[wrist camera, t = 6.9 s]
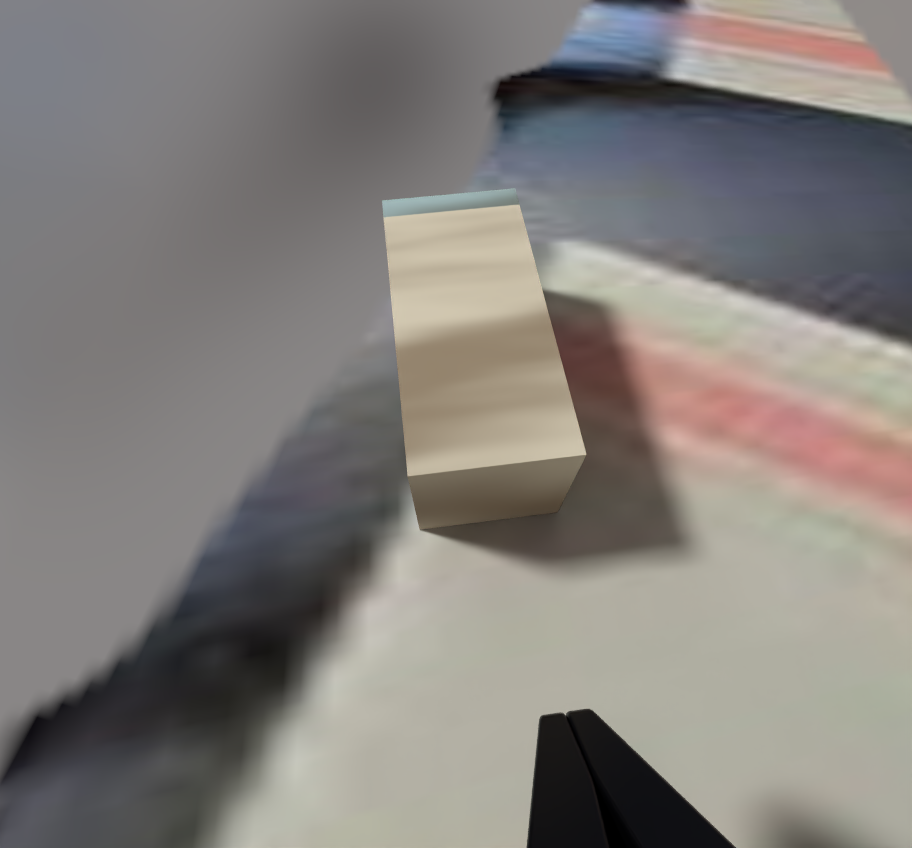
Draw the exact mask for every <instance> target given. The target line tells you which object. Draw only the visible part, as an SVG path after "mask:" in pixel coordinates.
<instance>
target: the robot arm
mask: <svg viewBox="0 0 912 848" xmlns="http://www.w3.org/2000/svg"><path fill="white" fill-rule="evenodd" d="M527 848H736V847H735V846H734V845H733V844H732V843H731V842H730V841H728V840H727V839H726V838H725V837H724V836H723V835H722V834H721V833H720V832H719V831H718V830H717V829H716V828H715V827H714V826H713V825H712V824H711V823H710V822H709V821H708V820H707V819H706V818H704V817H703V816H702V815H701V814H700V813H699V812H698V811H697V810H696V809H695V808H694V807H693V806H692V805H691V804H690V803H689V802H688V801H687V800H686V799H685V798H684V797H683V796H681V795H680V794H679V793H678V792H677V791H676V790H675V789H674V788H673V787H672V786H671V785H670V784H669V783H668V782H667V781H666V780H665V779H664V778H663V777H662V776H661V775H660V774H659V773H657V772H656V771H655V770H654V769H653V768H652V767H651V766H650V765H649V764H648V763H647V762H646V761H645V760H644V759H643V758H642V757H641V756H640V755H639V754H638V753H637V752H636V751H634V750H633V749H632V748H631V747H630V746H629V745H628V744H627V743H626V742H625V741H624V740H623V739H622V738H621V737H620V736H619V735H618V734H617V733H616V732H615V731H614V730H613V729H612V728H610V727H609V726H608V725H607V724H606V723H605V722H604V721H603V720H602V719H601V718H600V717H599V716H598V715H597V714H596V713H595V712H594V711H592V710H590V709H582V710H575V711H569V712H567V713H566V716H565V714H563V713H554V714H547V715H542V716H541V717H540V719H539V727H538V737H537V747H536V758H535V768H534V778H533V788H532V798H531V808H530V818H529V828H528V839H527Z"/></svg>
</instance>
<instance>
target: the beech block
mask: <svg viewBox="0 0 912 848" xmlns="http://www.w3.org/2000/svg"><path fill="white" fill-rule="evenodd" d="M382 204H383V215H384V224H385V236H386V246H387V258H388V269H389V279H390V290H391V301H392V312H393V322H394V333H395V344H396V355H397V365H398V376H399V387H400V398H401V408H402V419H403V430H404V441H405V451H406V462H407V473H408V479H409V484H410V488H411V493H412V497H413V502H414V506H415V511H416V515H417V520H418V524H419V529H420V530H423V529H431V528H438V527H446V526H454V525H462V524H470V523H478V522H486V521H493V520H501V519H509V518H517V517H525V516H533V515H541V514H548V513H556V512H558V511H559V509H560V507H561V505H562V503H563V501H564V499H565V497H566V495H567V493H568V491H569V489H570V487H571V485H572V483H573V481H574V479H575V477H576V475H577V473H578V471H579V469H580V467H581V465H582V463H583V461H584V459H585V457H586V455H587V454H586V451H585V447H584V443H583V439H582V436H581V432H580V428H579V425H578V421H577V417H576V413H575V410H574V406H573V402H572V398H571V395H570V391H569V387H568V384H567V380H566V376H565V372H564V369H563V365H562V361H561V358H560V354H559V350H558V346H557V343H556V339H555V335H554V332H553V328H552V324H551V320H550V317H549V313H548V309H547V306H546V302H545V298H544V294H543V291H542V287H541V283H540V280H539V276H538V272H537V268H536V265H535V261H534V257H533V254H532V250H531V246H530V242H529V239H528V235H527V231H526V228H525V224H524V220H523V216H522V213H521V209H520V205H519V201H518V198H517V194H516V190H515V188H513V189H503V190H492V191H481V192H470V193H460V194H449V195H438V196H427V197H416V198H406V199H396V200H384V201H382Z"/></svg>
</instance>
